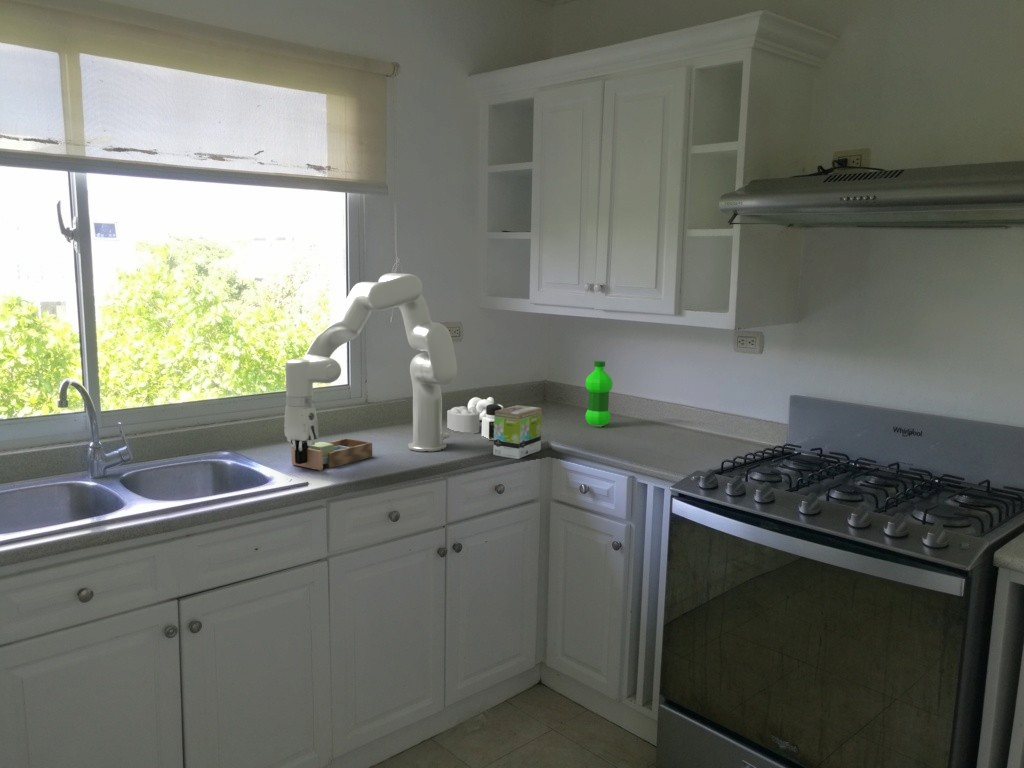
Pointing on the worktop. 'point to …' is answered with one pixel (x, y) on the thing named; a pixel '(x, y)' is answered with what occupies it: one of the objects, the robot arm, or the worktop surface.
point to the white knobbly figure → (480, 405)
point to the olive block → (323, 448)
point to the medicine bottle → (489, 420)
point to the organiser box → (348, 452)
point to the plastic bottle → (598, 395)
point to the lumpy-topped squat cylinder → (463, 419)
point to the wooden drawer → (315, 458)
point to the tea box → (517, 431)
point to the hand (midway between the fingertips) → (301, 462)
